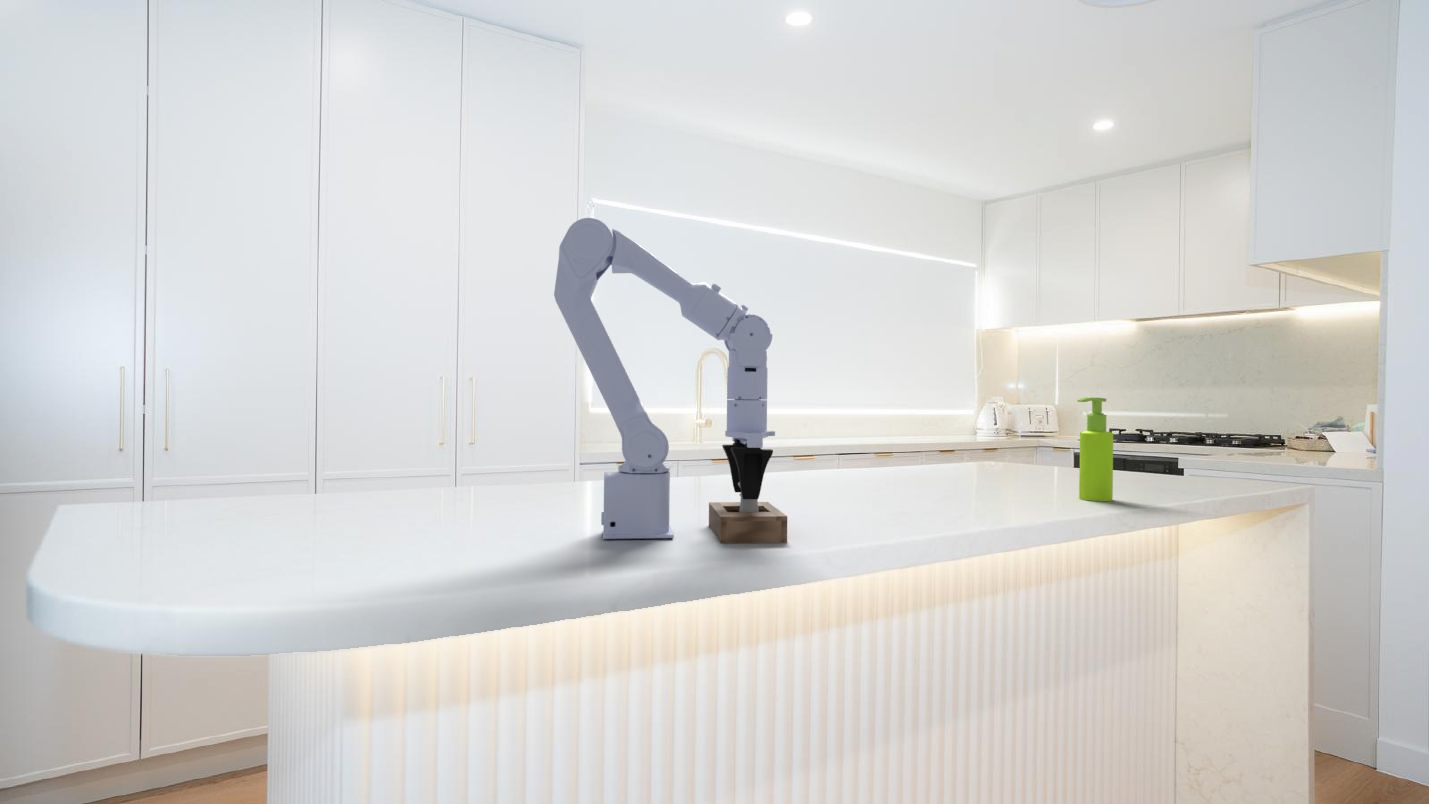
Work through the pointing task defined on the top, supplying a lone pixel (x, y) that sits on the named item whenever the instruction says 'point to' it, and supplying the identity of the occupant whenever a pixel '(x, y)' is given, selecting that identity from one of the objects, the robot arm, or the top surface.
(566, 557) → the top surface
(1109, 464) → the soap dispenser
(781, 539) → the brown wooden hollow block
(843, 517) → the top surface
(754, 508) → the rook chess piece
